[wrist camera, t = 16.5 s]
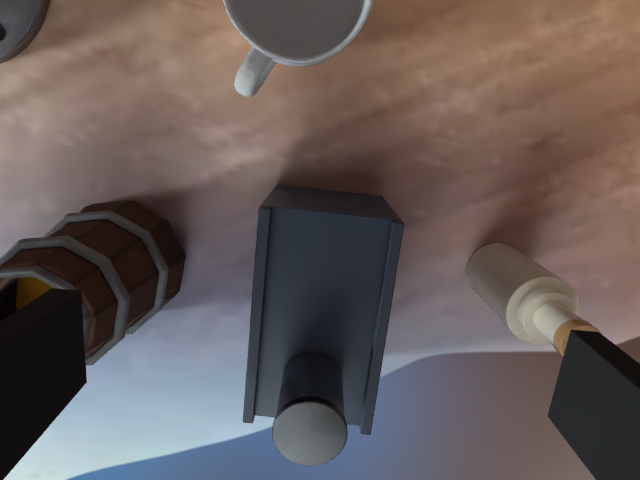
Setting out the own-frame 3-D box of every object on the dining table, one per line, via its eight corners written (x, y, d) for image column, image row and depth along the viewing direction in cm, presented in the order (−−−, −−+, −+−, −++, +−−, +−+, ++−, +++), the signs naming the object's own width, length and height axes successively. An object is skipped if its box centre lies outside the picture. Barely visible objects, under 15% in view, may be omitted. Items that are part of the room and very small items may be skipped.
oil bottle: (472, 239, 43) (549, 300, 28) (529, 245, 43) (636, 309, 29) (461, 293, 45) (529, 378, 30) (516, 299, 45) (612, 387, 30)
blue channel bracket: (276, 184, 42) (258, 207, 31) (382, 195, 42) (404, 223, 31) (262, 347, 46) (242, 422, 35) (358, 357, 47) (370, 435, 35)
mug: (148, 180, 42) (55, 210, 28) (205, 291, 45) (148, 372, 30) (5, 242, 44) (-152, 301, 29) (69, 346, 47) (-46, 447, 32)
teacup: (295, -96, 36) (288, -155, 29) (392, 2, 38) (409, -29, 30) (191, 42, 39) (158, 23, 31) (285, 128, 41) (276, 129, 33)
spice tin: (284, 346, 34) (275, 397, 28) (346, 352, 34) (351, 405, 28) (278, 401, 35) (268, 462, 29) (339, 407, 36) (342, 469, 29)
